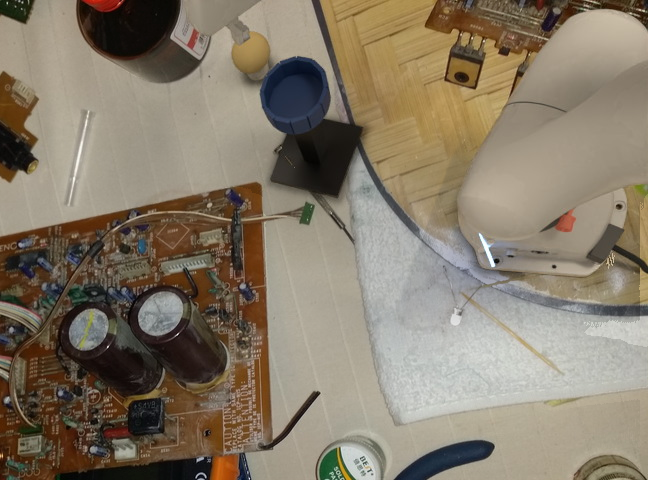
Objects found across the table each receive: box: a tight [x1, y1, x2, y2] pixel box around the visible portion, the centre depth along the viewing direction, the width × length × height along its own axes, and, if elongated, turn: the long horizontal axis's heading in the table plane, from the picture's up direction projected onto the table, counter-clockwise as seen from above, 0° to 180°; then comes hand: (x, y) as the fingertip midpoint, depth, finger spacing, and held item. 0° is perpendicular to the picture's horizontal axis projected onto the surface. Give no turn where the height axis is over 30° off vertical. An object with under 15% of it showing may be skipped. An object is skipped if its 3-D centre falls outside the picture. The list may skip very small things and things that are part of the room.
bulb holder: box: [259, 55, 332, 135], centre depth 97 cm, size 9×9×4 cm
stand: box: [269, 118, 364, 199], centre depth 109 cm, size 12×12×22 cm
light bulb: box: [230, 30, 271, 81], centre depth 119 cm, size 6×6×10 cm
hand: (274, 16), depth 82 cm, fingers open, 8 cm apart
